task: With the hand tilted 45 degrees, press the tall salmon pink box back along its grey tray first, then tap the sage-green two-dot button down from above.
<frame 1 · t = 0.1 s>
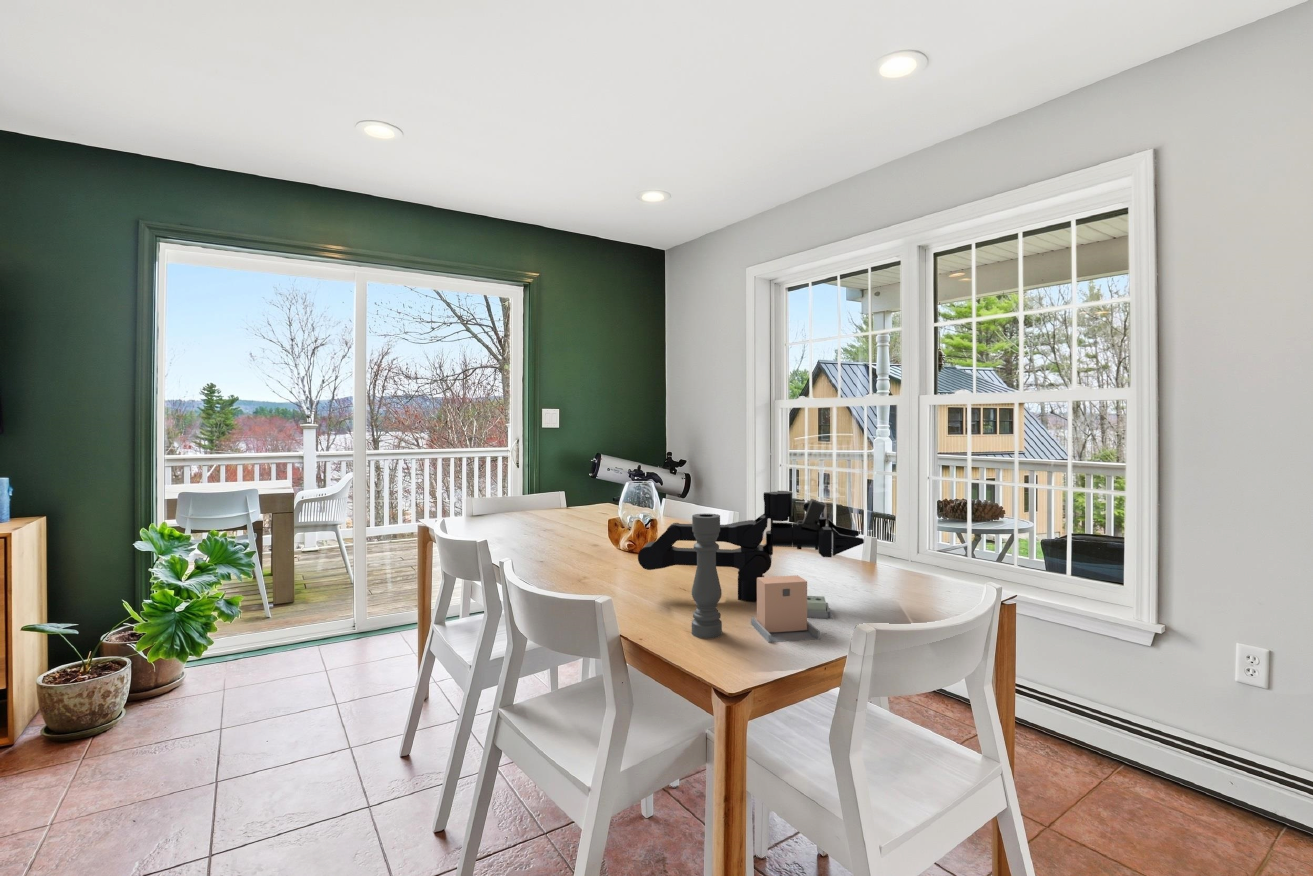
hand: (861, 537, 149), 17 cm above the table, tool horizontal, fingers open, 9 cm apart
candle holder: (706, 639, 130), on the table
salmon pink box: (781, 603, 132), point 6 cm above the table, slide at 0.0 cm
sage button: (813, 603, 143), point 3 cm above the table, slide at 0.0 cm
grey tray: (781, 633, 132), on the table
button bezel: (813, 617, 143), on the table
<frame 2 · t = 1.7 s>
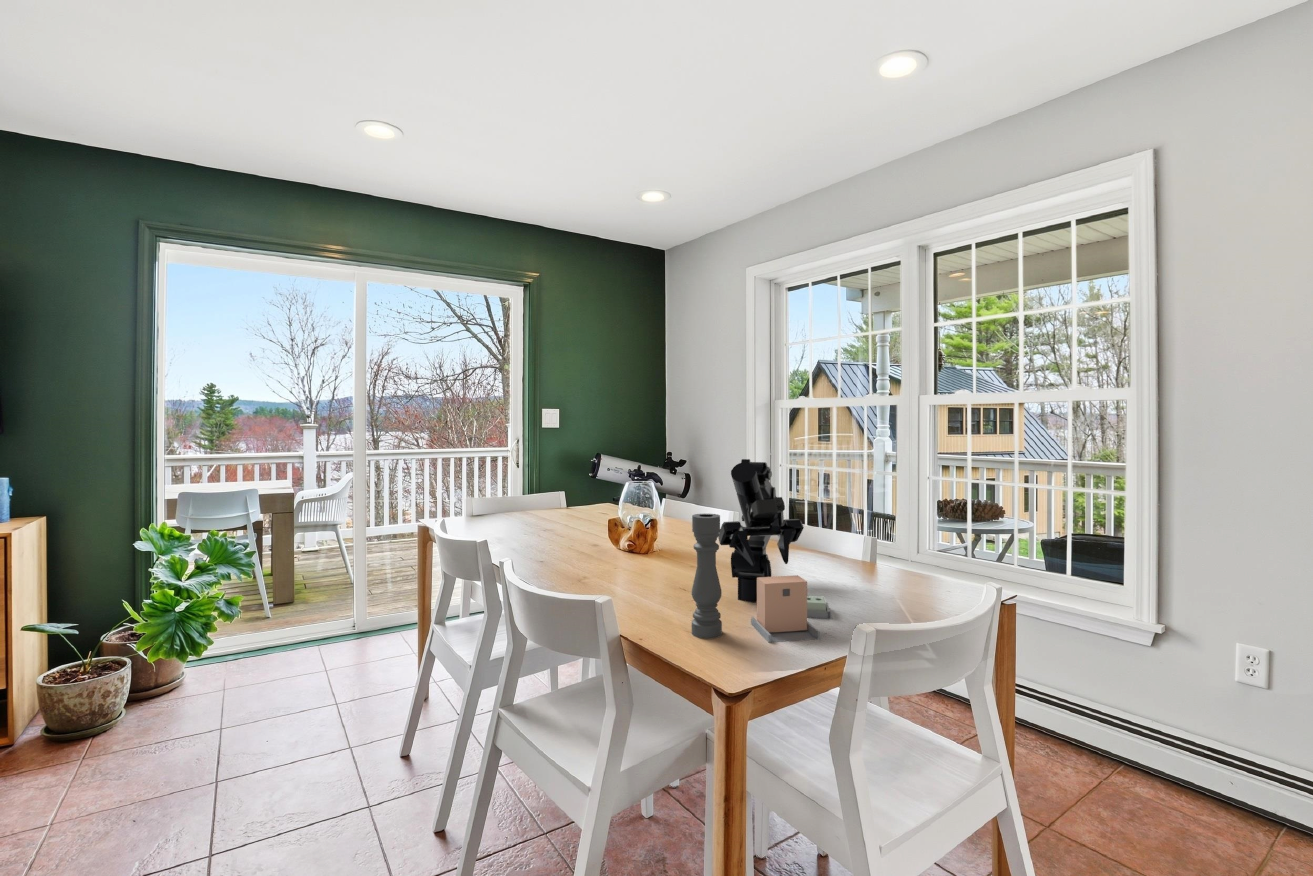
hand: (770, 564, 140), 13 cm above the table, tool tilted 45°, fingers open, 7 cm apart
nothing on the table moved.
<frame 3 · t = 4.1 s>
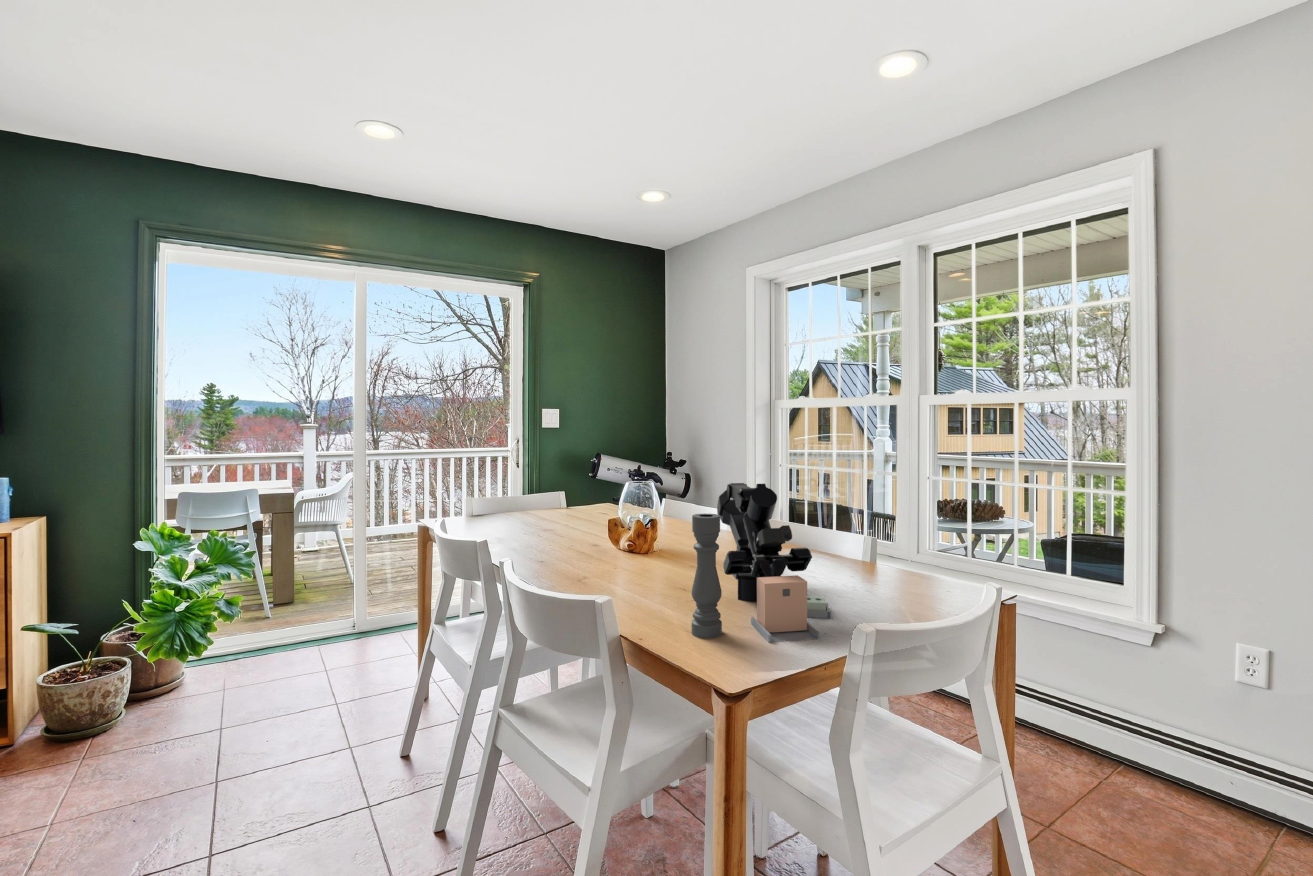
hand: (776, 595, 135), 7 cm above the table, tool tilted 45°, fingers closed, pressing on salmon pink box
salmon pink box: (781, 603, 132), point 6 cm above the table, slide at 0.0 cm, touching gripper
everything else where it was.
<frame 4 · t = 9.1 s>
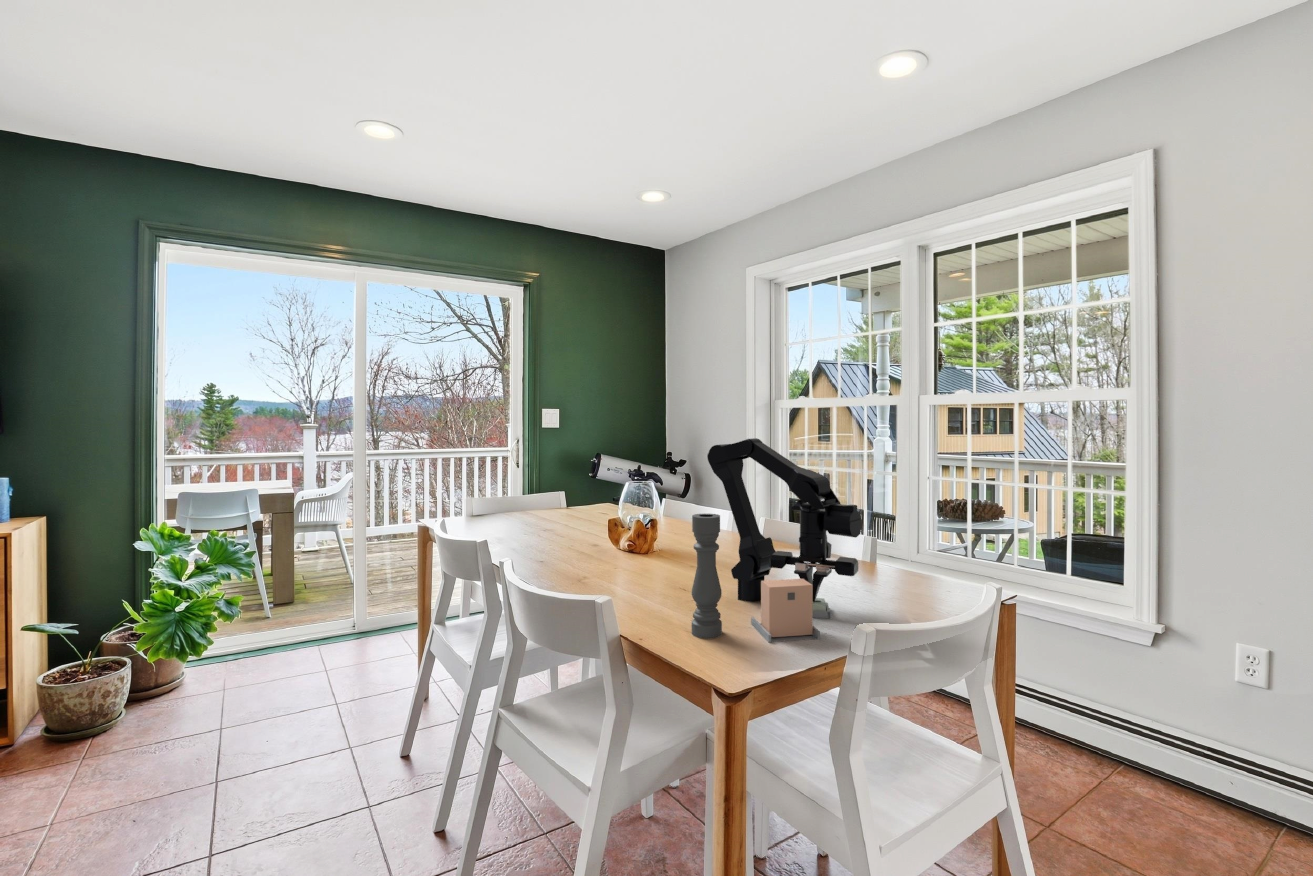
hand: (812, 601, 143), 4 cm above the table, tool pointing down, fingers closed, pressing on sage button
salmon pink box: (786, 607, 129), point 6 cm above the table, slide at 2.7 cm
sage button: (813, 605, 143), point 3 cm above the table, slide at 0.5 cm, touching gripper
everything else where it was.
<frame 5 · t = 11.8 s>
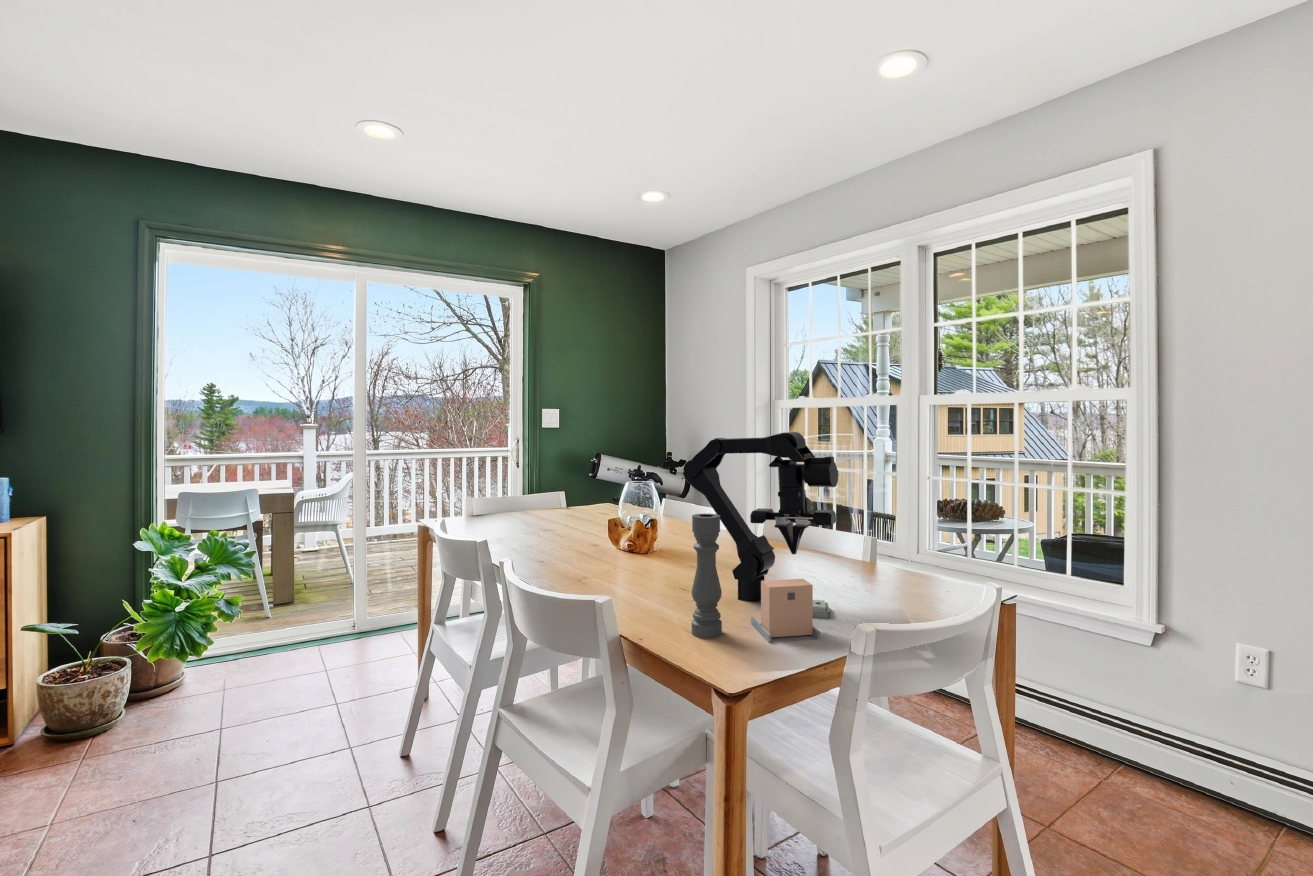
hand: (794, 554, 147), 13 cm above the table, tool pointing down, fingers closed
sage button: (813, 607, 143), point 2 cm above the table, slide at 0.9 cm
everything else where it was.
at the end: salmon pink box slide at 2.7 cm; sage button slide at 0.9 cm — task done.
